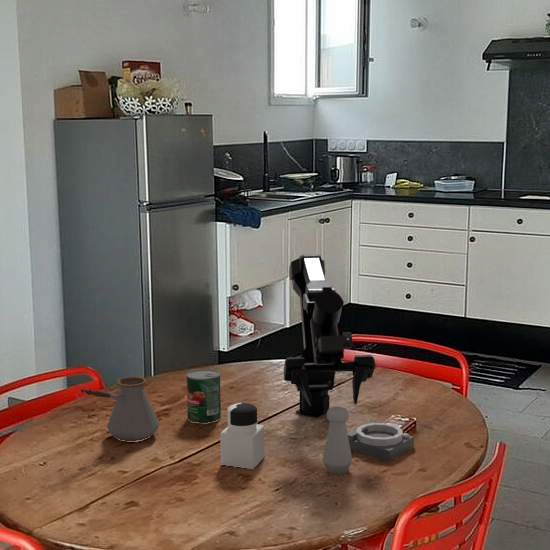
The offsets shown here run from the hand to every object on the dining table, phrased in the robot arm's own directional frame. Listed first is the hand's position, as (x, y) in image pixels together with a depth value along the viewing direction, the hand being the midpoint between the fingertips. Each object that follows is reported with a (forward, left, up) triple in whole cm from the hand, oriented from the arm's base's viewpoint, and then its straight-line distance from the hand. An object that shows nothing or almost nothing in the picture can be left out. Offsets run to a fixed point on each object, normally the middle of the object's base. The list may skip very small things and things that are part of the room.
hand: (333, 404), depth 174 cm
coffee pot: (-42, -21, -12) cm, 49 cm away
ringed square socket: (+4, +11, -12) cm, 17 cm away
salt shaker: (+4, -4, -12) cm, 13 cm away
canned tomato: (-38, +2, -12) cm, 40 cm away
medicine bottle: (-14, -12, -12) cm, 22 cm away
